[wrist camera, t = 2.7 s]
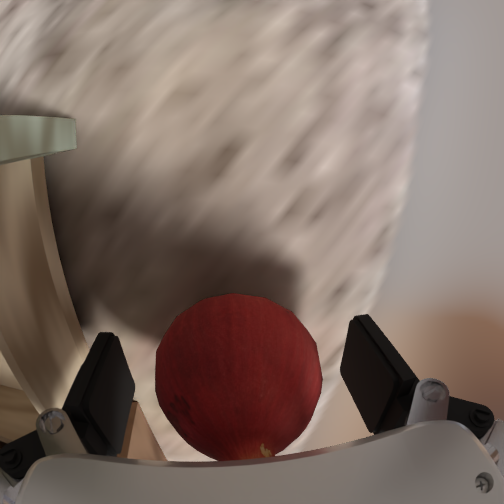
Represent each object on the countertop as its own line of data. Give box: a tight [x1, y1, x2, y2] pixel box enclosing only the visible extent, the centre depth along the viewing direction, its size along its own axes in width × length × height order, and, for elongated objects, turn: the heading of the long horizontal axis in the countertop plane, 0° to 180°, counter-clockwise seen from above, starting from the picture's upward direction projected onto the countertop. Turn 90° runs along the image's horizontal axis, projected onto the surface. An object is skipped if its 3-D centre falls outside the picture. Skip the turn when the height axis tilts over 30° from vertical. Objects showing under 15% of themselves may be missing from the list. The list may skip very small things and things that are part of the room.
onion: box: [155, 293, 323, 461], centre depth 9 cm, size 6×6×8 cm
